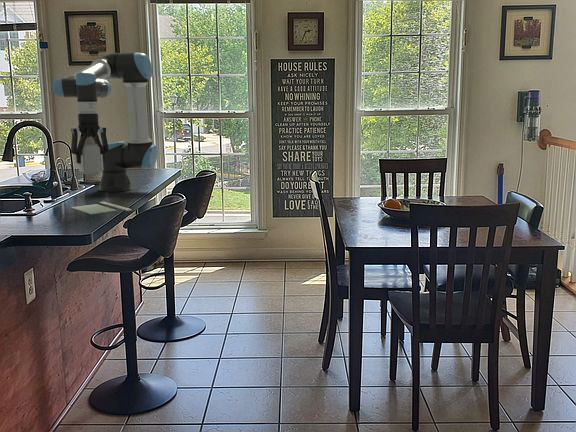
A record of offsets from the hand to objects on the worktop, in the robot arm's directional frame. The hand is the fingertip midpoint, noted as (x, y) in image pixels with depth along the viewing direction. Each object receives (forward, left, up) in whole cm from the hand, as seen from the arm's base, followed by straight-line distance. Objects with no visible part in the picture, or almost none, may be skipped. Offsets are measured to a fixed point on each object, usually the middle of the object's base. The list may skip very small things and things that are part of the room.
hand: (91, 170), depth 240 cm
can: (0, 0, -1) cm, 1 cm away
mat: (0, 0, -16) cm, 16 cm away
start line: (-10, 0, -16) cm, 18 cm away
